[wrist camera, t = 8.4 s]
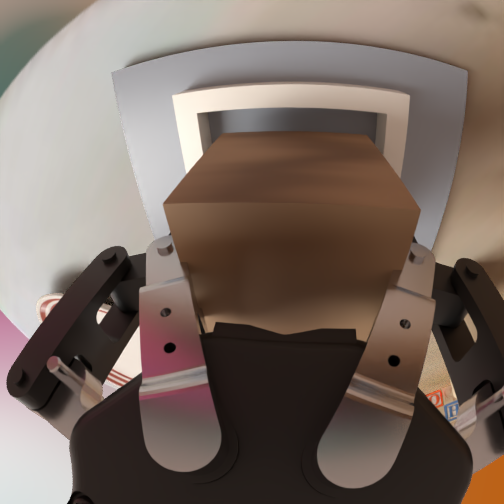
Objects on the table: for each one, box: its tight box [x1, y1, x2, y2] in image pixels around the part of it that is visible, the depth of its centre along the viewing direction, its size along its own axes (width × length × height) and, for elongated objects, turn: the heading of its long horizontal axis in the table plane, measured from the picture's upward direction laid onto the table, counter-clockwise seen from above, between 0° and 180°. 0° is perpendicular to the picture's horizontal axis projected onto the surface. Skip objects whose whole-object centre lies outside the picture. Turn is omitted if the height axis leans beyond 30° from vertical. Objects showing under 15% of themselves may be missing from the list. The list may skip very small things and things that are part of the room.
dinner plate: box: [36, 293, 142, 387], centre depth 31 cm, size 27×27×3 cm
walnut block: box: [163, 131, 421, 342], centre depth 10 cm, size 6×6×6 cm
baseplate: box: [111, 41, 468, 251], centre depth 13 cm, size 18×14×2 cm
